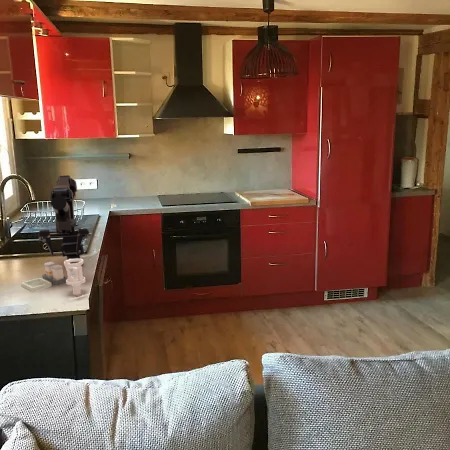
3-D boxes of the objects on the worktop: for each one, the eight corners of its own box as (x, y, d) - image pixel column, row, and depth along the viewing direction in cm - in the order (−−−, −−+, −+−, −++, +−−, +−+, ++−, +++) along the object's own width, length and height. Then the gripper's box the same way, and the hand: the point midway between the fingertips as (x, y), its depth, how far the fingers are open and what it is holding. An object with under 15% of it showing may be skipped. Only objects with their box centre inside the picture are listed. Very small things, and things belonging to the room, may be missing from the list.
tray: (21, 288, 202) (21, 282, 202) (40, 283, 208) (40, 277, 207) (32, 294, 195) (31, 288, 195) (52, 288, 201) (51, 282, 200)
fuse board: (43, 281, 210) (42, 274, 209) (54, 278, 213) (53, 271, 212) (56, 288, 201) (55, 281, 200) (68, 284, 205) (67, 277, 204)
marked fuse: (46, 279, 209) (44, 263, 208) (52, 277, 211) (50, 261, 210) (50, 281, 207) (48, 265, 205) (56, 279, 209) (54, 263, 207)
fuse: (53, 282, 205) (51, 266, 203) (60, 280, 207) (58, 264, 205) (57, 284, 202) (55, 268, 201) (64, 282, 204) (62, 266, 203)
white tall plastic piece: (64, 297, 191) (59, 259, 188) (78, 291, 197) (74, 254, 193) (76, 300, 187) (71, 262, 184) (90, 294, 193) (86, 256, 189)
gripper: (37, 212, 189) (39, 252, 185) (88, 210, 196) (91, 249, 192) (38, 220, 199) (39, 258, 195) (86, 218, 206) (89, 255, 202)
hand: (65, 255), depth 196 cm, fingers open, 9 cm apart
